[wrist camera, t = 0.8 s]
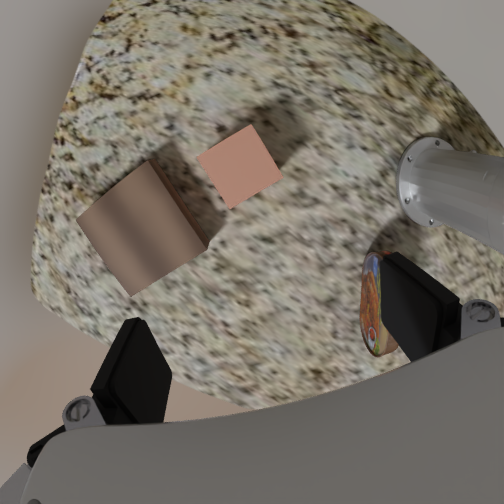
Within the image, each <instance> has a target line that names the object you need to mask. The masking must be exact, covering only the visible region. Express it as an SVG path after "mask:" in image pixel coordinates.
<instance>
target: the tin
mask: <svg viewBox="0 0 504 504" xmlns="http://www.w3.org/2000/svg"><path fill="white" fill-rule="evenodd" d="M391 253H392V252H390V251H380V252H371V253H369V254H368V255H367V256H366V257H365V260H364V263H363V268H362V288H361V304H360V328H361V333H362V337H363V340H364V342H365V345H366V347H367V349H368V350H369V352H370V353H371V354H372V355H373V356H374V357H381V356H382V355H385V354H389V353H391V352H393V351H395V350H396V349H397V348H398V346H399V345H398V343H397V342H396V341H395V340H394V338H393V337H392V336H391V334H390V333H389V332H388V330H387V329H386V328H385V327H384V325H383V323H382V321H381V288H380V261H381V260H383V256H384V255H387V254H391Z"/></svg>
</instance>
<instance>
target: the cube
mask: <svg viewBox="0 0 504 504" xmlns="http://www.w3.org/2000/svg"><path fill="white" fill-rule="evenodd" d="M197 159H198V160H199V162H200V163H201V165H202V166H203V168H204V170H205V171H206V173H207V174H208V176H209V177H210V179H211V181H212V182H213V184H214V185H215V187H216V188H217V190H218V192H219V193H220V195H221V196H222V198H223V199H224V201H225V203H226V204H227V206H228V207H229V209H231V208H233V207H234V206H236V205H238V204H239V203H241V202H243V201H244V200H246V199H248V198H249V197H251V196H253V195H254V194H256V193H258V192H259V191H261V190H263V189H265V188H266V187H268V186H270V185H271V184H273V183H275V182H277V181H278V180H280V179H282V178H283V176H282V174H281V172H280V171H279V169H278V167H277V166H276V164H275V162H274V160H273V159H272V157H271V155H270V154H269V152H268V150H267V149H266V147H265V145H264V144H263V142H262V141H261V139H260V137H259V136H258V134H257V132H256V131H255V129H254V128H253V126H252V124H250V125H249V126H247V127H245V128H243V129H242V130H240V131H238V132H237V133H235V134H233V135H231V136H230V137H228V138H226V139H225V140H223V141H221V142H220V143H218V144H217V145H215V146H213V147H212V148H210V149H208V150H207V151H205V152H204V153H202V154H201V155H199V156H197Z"/></svg>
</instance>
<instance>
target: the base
mask: <svg viewBox="0 0 504 504" xmlns="http://www.w3.org/2000/svg"><path fill="white" fill-rule="evenodd" d="M76 221H77V223H78V224H79V226H80V227H81V229H82V230H83V232H84V233H85V235H86V236H87V238H88V239H89V241H90V242H91V244H92V245H93V247H94V248H95V250H96V251H97V252H98V254H99V255H100V257H101V258H102V260H103V261H104V262H105V264H106V265H107V266H108V268H109V269H110V271H111V272H112V273H113V275H114V276H115V277H116V279H117V280H118V281H119V283H120V284H121V285H122V286H123V288H124V289H125V290H126V292H127V293H128V294H129V295H130V297H132V296H133V295H135V294H136V293H138V292H139V291H141V290H143V289H144V288H146V287H147V286H149V285H151V284H152V283H154V282H155V281H157V280H159V279H160V278H162V277H163V276H165V275H167V274H168V273H170V272H172V271H173V270H175V269H176V268H178V267H180V266H181V265H183V264H185V263H186V262H188V261H189V260H191V259H193V258H194V257H196V256H198V255H199V254H201V253H203V252H204V251H206V250H207V249H208V245H209V242H210V241H209V240H208V238H207V237H206V235H205V234H204V232H203V231H202V229H201V228H200V226H199V225H198V223H197V222H196V220H195V219H194V217H193V216H192V214H191V213H190V211H189V210H188V208H187V207H186V205H185V204H184V202H183V201H182V199H181V198H180V196H179V195H178V193H177V192H176V190H175V189H174V187H173V185H172V184H171V182H170V181H169V179H168V178H167V176H166V175H165V173H164V172H163V170H162V169H161V167H160V165H159V164H158V162H157V161H156V159H152V160H147V161H146V162H144V163H143V164H142V165H140V166H139V167H138V168H137V169H135V170H134V171H133V172H131V173H130V174H129V175H128V176H126V177H125V178H124V179H123V180H121V181H120V182H119V183H118V184H116V185H115V186H114V187H113V188H111V189H110V190H109V191H108V192H107V193H105V194H104V195H103V196H102V197H101V198H100V199H98V200H97V201H96V202H95V203H94V204H93V205H92V206H91V207H89V208H88V209H87V210H86V211H85V212H84V213H83V214H82V215H81V216H79V217H78V218H77V219H76Z"/></svg>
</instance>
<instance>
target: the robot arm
mask: <svg viewBox="0 0 504 504" xmlns="http://www.w3.org/2000/svg"><path fill="white" fill-rule="evenodd" d="M407 158H408V160H407ZM396 189H397V196H398V199H399V202H400V205H401V207H402V209H403V210H404V212H405V213H406V215H407V216H408V217H409V218H410V219H411V220H413V221H414V222H416V223H417V224H419V225H422V226H425V227H437V226H440V225H442V224H446V225H448V226H450V227H452V228H454V229H456V230H458V231H460V232H462V233H464V234H466V235H468V236H470V237H472V238H474V239H476V240H478V241H480V242H481V243H483V244H485V245H487V246H489V247H491V248H493V249H494V250H496V251H498V252H500V253H501V254H503V255H504V157H499V156H493V155H486V154H480V153H477V152H476V151H475V150H471V151H470V152H465V151H456V150H455V149H454V148H453V147H452V146H451V145H450V144H449V143H447V142H446V141H445V140H442V139H440V138H436V137H424V138H420V139H418V140H416V141H414V142H413V143H412V144H411V145H409V146H408V147H407V149H406V150H405V152H404V153H403V155H402V157H401V159H400V161H399V165H398V168H397V175H396ZM380 288H381V321H382V323H383V325H384V327H385V328H386V329H387V330H388V332H389V333H390V334H391V336H392V337H393V338H394V340H395V341H396V342H397V343H398V345H399V346H400V347H401V349H402V350H403V351H404V353H405V354H406V355H407V357H408V358H409V360H410V361H411V362H410V363H408V364H406V365H403V366H401V367H398V368H396V369H393V370H391V371H388V372H386V373H383V374H381V375H378V376H375V377H373V378H370V379H367V380H364V381H361V382H359V383H356V384H353V385H349V386H346V387H343V388H340V389H337V390H334V391H330V392H327V393H324V394H320V395H317V396H313V397H309V398H306V399H302V400H298V401H294V402H290V403H286V404H282V405H277V406H273V407H268V408H263V409H259V410H253V411H248V412H243V413H237V414H232V415H225V416H218V417H212V418H204V419H196V420H187V421H176V422H165V423H164V422H163V421H164V416H165V410H166V405H167V400H168V394H169V390H170V385H171V380H172V372H171V369H170V367H169V365H168V363H167V362H166V360H165V358H164V356H163V354H162V352H161V350H160V348H159V347H158V345H157V343H156V341H155V339H154V337H153V335H152V333H151V331H150V329H149V327H148V325H147V323H146V321H145V320H141V318H139V317H136V318H131V319H126V320H125V321H124V323H123V325H122V327H121V328H120V330H119V332H118V334H117V336H116V338H115V340H114V342H113V344H112V346H111V348H110V350H109V352H108V354H107V355H106V358H105V359H104V361H103V364H102V366H101V368H100V370H99V372H98V374H97V376H96V378H95V380H94V382H93V384H92V386H91V389H90V390H91V391H92V393H93V396H92V398H91V397H89V396H80V397H77V398H75V399H73V400H72V401H70V402H69V403H68V404H67V405H66V407H65V409H64V410H63V415H62V418H63V422H64V425H62V426H61V427H59V428H58V429H56V430H55V431H53V432H52V433H50V434H49V435H47V436H45V437H44V438H42V439H41V440H39V441H38V442H36V443H35V444H33V445H32V446H31V447H30V449H29V452H28V454H27V462H28V465H26V464H25V463H23V465H21V467H20V468H19V469H18V470H17V471H16V472H15V473H14V474H13V475H12V476H11V477H10V478H9V479H8V480H7V481H6V482H5V483H4V485H3V486H2V487H1V488H0V504H504V318H501V317H500V315H499V311H498V308H497V307H496V306H495V305H494V304H493V303H491V302H489V301H486V300H481V299H474V300H471V301H468V302H467V303H465V304H464V306H462V305H461V304H460V303H459V301H460V298H459V297H457V296H456V295H455V294H454V293H452V292H451V291H450V290H448V289H447V288H446V287H445V286H443V285H442V284H441V283H439V282H438V281H437V280H436V279H434V278H433V277H432V276H430V275H429V274H428V273H426V272H425V271H424V270H422V269H421V268H419V267H418V266H417V265H415V264H414V263H413V262H411V261H410V260H408V259H407V258H406V257H404V256H403V255H401V254H400V253H399V252H394V253H391V254H387V255H384V256H383V260H381V261H380Z"/></svg>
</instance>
